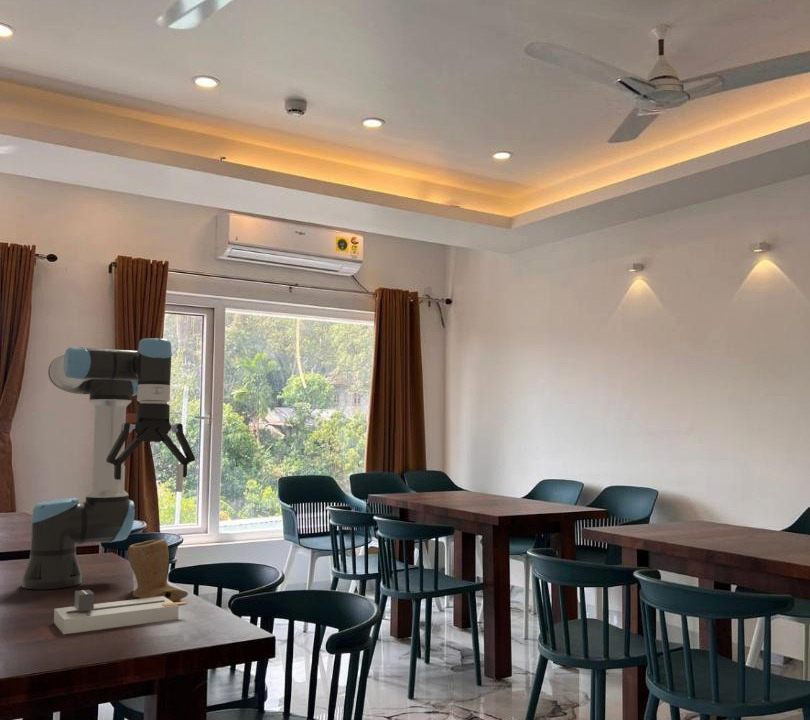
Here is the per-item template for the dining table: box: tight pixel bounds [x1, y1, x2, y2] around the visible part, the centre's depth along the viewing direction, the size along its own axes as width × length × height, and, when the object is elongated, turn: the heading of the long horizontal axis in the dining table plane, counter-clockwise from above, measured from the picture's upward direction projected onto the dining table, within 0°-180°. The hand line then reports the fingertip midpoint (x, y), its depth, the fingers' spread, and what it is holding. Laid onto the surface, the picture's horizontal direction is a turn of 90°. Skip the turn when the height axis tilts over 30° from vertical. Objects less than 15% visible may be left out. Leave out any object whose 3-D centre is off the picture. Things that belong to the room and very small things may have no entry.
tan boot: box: [127, 538, 189, 603], centre depth 193 cm, size 15×12×15 cm
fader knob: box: [74, 589, 95, 612], centre depth 168 cm, size 5×3×4 cm, turn 34°
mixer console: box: [53, 596, 187, 635], centre depth 172 cm, size 12×26×3 cm, turn 124°
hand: (150, 492), depth 181 cm, fingers open, 13 cm apart
